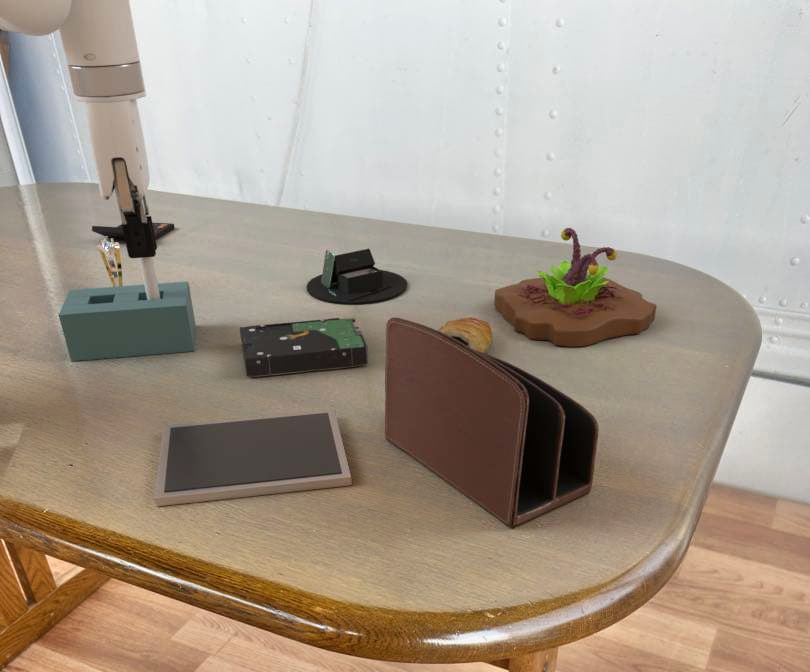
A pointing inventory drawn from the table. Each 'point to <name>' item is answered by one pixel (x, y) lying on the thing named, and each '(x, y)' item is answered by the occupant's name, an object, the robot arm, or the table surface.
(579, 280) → the plant
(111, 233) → the calculator
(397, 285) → the round circuit board stand
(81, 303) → the dock
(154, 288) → the stylus
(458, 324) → the pastry
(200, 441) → the tablet
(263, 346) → the disk drive
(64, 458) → the table surface
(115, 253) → the ring
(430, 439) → the letter holder
